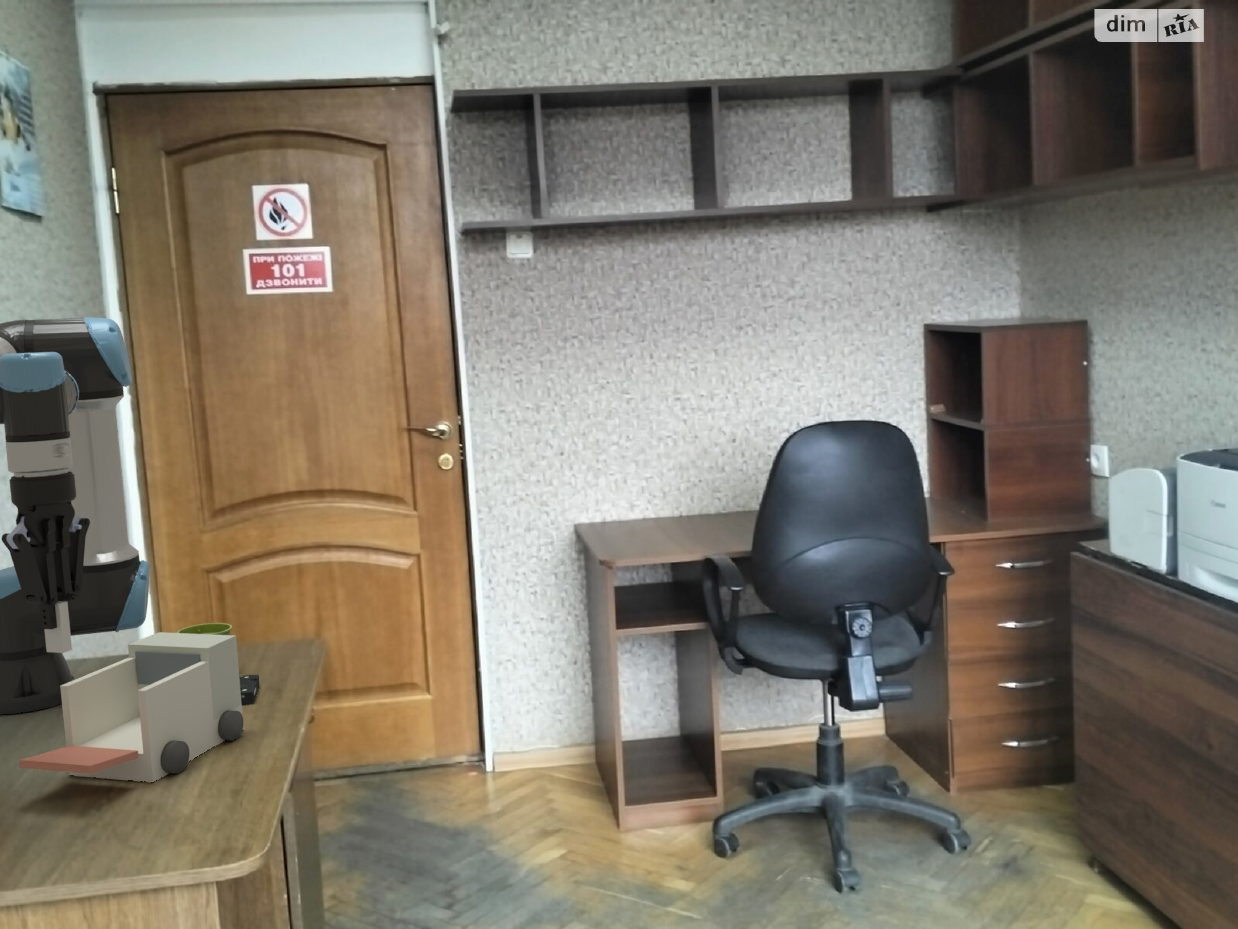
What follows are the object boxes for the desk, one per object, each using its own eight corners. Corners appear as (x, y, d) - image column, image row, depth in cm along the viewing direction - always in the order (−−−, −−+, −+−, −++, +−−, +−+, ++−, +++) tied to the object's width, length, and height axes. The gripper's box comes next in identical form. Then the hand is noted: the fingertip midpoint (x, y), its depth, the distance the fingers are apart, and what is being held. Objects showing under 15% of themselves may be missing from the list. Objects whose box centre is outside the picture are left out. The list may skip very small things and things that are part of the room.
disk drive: (260, 689, 200) (170, 697, 197) (259, 673, 200) (169, 681, 197) (254, 707, 190) (160, 716, 187) (254, 691, 190) (159, 699, 187)
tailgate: (70, 754, 159) (19, 770, 151) (70, 745, 159) (19, 760, 151) (138, 760, 156) (90, 776, 148) (138, 750, 156) (90, 765, 148)
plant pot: (182, 672, 210) (178, 626, 209) (236, 665, 213) (232, 620, 212) (178, 686, 201) (174, 638, 200) (235, 679, 204) (231, 632, 203)
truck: (60, 774, 161) (50, 671, 160) (159, 724, 181) (151, 632, 180) (162, 783, 157) (152, 677, 155) (251, 730, 177) (243, 635, 175)
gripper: (26, 479, 140) (45, 666, 143) (101, 466, 152) (117, 638, 155) (-23, 479, 142) (-4, 664, 145) (55, 466, 155) (72, 636, 157)
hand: (59, 650), depth 150 cm, fingers closed
